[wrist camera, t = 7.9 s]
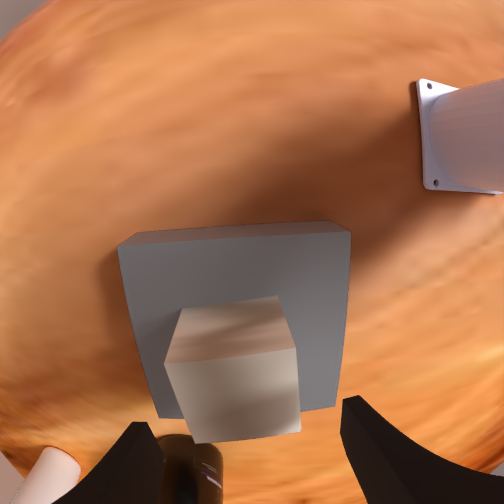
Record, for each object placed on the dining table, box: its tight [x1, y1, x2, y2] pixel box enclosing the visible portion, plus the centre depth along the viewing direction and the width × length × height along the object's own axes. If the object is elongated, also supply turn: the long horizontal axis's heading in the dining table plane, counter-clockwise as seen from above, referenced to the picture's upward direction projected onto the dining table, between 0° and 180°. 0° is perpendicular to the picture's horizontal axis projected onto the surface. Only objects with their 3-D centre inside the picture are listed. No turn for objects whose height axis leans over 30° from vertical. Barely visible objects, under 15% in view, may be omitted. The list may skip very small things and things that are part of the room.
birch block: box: [164, 295, 301, 444], centre depth 14 cm, size 5×5×5 cm
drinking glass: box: [10, 447, 81, 504], centre depth 16 cm, size 7×7×15 cm
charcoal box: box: [117, 220, 351, 419], centre depth 18 cm, size 12×12×4 cm
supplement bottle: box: [157, 435, 223, 504], centre depth 17 cm, size 7×7×12 cm
